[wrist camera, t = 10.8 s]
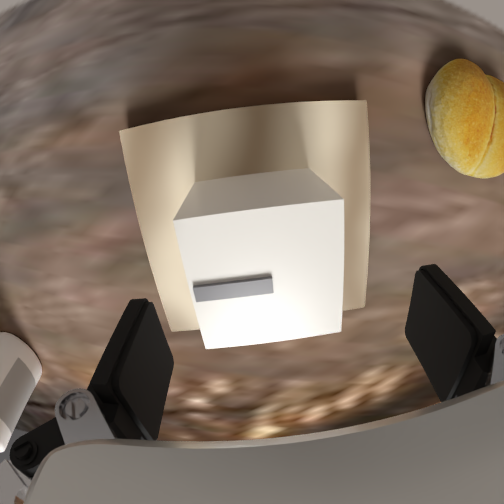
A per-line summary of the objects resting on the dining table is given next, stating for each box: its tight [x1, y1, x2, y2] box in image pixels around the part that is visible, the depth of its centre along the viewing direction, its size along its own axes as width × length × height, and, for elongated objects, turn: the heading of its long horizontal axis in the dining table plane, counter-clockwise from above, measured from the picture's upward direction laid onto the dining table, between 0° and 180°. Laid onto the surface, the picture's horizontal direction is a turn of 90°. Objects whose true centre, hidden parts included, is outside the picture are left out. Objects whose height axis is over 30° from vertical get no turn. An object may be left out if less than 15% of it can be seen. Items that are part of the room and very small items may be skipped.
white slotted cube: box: [173, 168, 344, 349], centre depth 15 cm, size 6×6×6 cm
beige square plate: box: [119, 100, 370, 331], centre depth 17 cm, size 14×14×6 cm
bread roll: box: [425, 59, 504, 178], centre depth 15 cm, size 8×9×4 cm
